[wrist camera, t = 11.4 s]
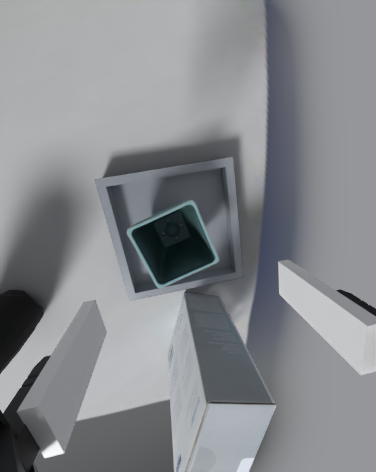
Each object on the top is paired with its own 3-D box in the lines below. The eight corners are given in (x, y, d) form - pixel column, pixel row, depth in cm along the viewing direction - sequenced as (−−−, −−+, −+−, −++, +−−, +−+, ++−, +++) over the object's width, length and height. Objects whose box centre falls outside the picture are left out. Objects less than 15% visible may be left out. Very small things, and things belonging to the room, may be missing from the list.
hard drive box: (202, 359, 43) (235, 504, 24) (167, 356, 41) (172, 508, 22) (222, 295, 39) (279, 408, 20) (183, 290, 38) (205, 406, 19)
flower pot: (134, 216, 32) (124, 230, 23) (185, 192, 32) (194, 198, 23) (159, 262, 34) (158, 290, 26) (206, 240, 34) (220, 261, 26)
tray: (101, 179, 30) (94, 179, 27) (225, 158, 32) (232, 156, 29) (132, 289, 36) (129, 301, 33) (236, 268, 38) (243, 277, 34)
